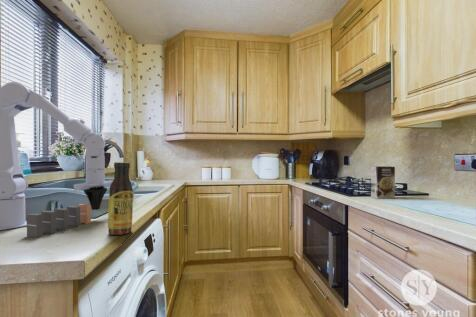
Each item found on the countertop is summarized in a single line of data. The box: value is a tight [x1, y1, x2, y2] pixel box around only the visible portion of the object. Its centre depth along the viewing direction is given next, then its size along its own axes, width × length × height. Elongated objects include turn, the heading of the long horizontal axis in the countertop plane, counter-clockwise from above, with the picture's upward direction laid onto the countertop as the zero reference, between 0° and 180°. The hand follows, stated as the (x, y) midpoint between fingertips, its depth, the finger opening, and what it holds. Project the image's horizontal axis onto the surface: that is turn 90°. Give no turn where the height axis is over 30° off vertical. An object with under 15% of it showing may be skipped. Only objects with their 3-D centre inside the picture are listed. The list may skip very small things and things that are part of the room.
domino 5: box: [77, 203, 92, 225], centre depth 85 cm, size 1×4×6 cm, turn 71°
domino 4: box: [66, 205, 81, 227], centre depth 81 cm, size 1×4×6 cm, turn 71°
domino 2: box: [40, 210, 57, 235], centre depth 74 cm, size 1×4×6 cm, turn 71°
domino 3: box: [54, 207, 70, 231], centre depth 77 cm, size 1×4×6 cm, turn 71°
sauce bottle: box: [107, 161, 134, 236], centre depth 73 cm, size 7×6×20 cm
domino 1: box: [26, 213, 44, 239], centre depth 70 cm, size 1×4×6 cm, turn 71°
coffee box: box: [370, 165, 396, 200], centre depth 133 cm, size 9×6×16 cm
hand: (95, 209), depth 89 cm, fingers closed
